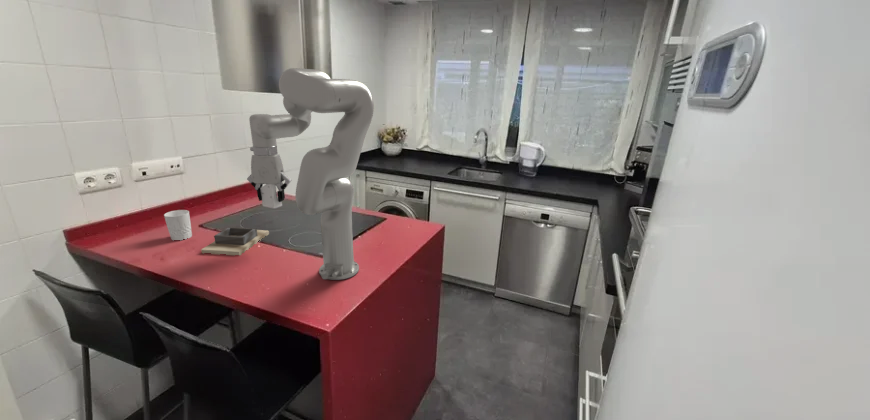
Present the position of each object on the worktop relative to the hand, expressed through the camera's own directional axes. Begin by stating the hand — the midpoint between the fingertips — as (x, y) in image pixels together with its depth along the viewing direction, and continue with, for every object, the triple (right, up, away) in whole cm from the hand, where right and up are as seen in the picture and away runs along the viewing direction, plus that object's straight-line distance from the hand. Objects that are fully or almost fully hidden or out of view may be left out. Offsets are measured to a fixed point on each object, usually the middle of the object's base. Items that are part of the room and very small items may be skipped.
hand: (271, 199), depth 132 cm
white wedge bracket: (0, -2, +1) cm, 2 cm away
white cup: (-39, -15, +10) cm, 43 cm away
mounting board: (-16, -16, +6) cm, 23 cm away
